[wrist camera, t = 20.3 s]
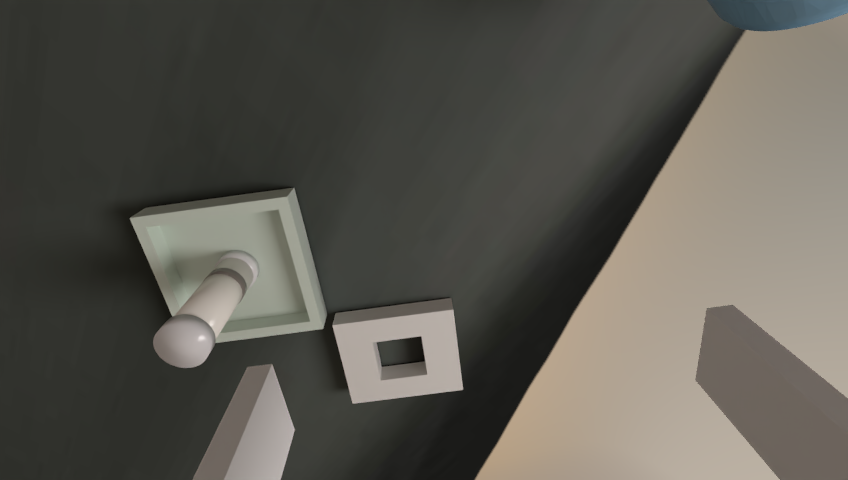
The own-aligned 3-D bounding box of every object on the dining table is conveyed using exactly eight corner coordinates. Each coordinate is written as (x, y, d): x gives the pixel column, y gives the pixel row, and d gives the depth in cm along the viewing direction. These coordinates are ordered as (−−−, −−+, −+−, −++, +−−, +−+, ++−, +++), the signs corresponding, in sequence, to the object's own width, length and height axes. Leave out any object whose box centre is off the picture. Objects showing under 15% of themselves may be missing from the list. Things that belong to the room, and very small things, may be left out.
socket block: (451, 298, 53) (453, 309, 51) (460, 376, 58) (463, 389, 56) (335, 313, 53) (332, 325, 51) (354, 389, 58) (352, 403, 56)
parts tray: (294, 187, 47) (287, 196, 44) (327, 314, 53) (323, 328, 51) (145, 207, 47) (129, 218, 44) (196, 331, 54) (185, 346, 51)
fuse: (253, 247, 49) (198, 321, 36) (264, 282, 50) (215, 364, 38) (213, 252, 49) (144, 328, 36) (226, 287, 51) (165, 370, 38)
